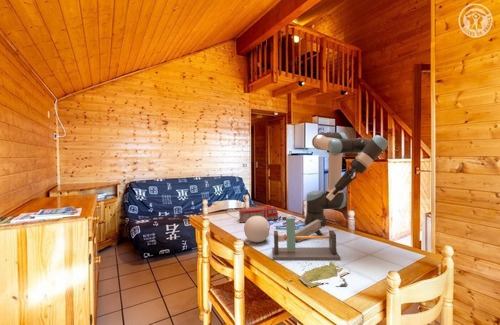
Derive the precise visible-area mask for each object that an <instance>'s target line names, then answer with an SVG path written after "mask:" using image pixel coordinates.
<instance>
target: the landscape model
mask: <svg viewBox="0 0 500 325" xmlns="http://www.w3.org/2000/svg"><path fill="white" fill-rule="evenodd" d="M344 269H345V268H344V267H339V265H336V264H335V263H334V262H332V261H330V262H329V264H326V265H322V266H318V267H314V268H312V269H309V270H307V271H304V272H303V274H302V275H300V276H298V280H300V281H301V282H302V283H303V284H304V285H306V287H307V288H308V289H312V288H314V287H316V286H320V285H324V284H326V285H327V284H328V282H325V281H323V282H318V281H322V280H328V279H329V280H330V279H331V278H335V277H336V278H337V277H338V276H339V279H341V280H342V282H344V283H340V285H338V286H337V285H336V287H347V286H348V282H346V278H343V276H345V275H347V274H350V273H351V270H349V269H348V270H347V271H348V272H346V271H345V272H342V271H343V270H344ZM341 272H342V273H341ZM338 273H340V274H338ZM341 280H339V282H341ZM308 282H309V283H308ZM311 287H312V288H311Z"/></svg>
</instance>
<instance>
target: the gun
mask: <svg viewBox="0 0 500 325" xmlns="http://www.w3.org/2000/svg"><path fill="white" fill-rule="evenodd" d="M324 227H325V226H324V220H323V219H320V220H315V221H313V222H312V223H310V224H308V225H305V226H302V227H301V228H299V229H297V230H295V236H312V235H313V234H316V236H324V235H323V234H324V233H323V232H321V231H320V230H321V229H323V228H324ZM303 240H304V239H295V243H300V242H302V241H303Z"/></svg>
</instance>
